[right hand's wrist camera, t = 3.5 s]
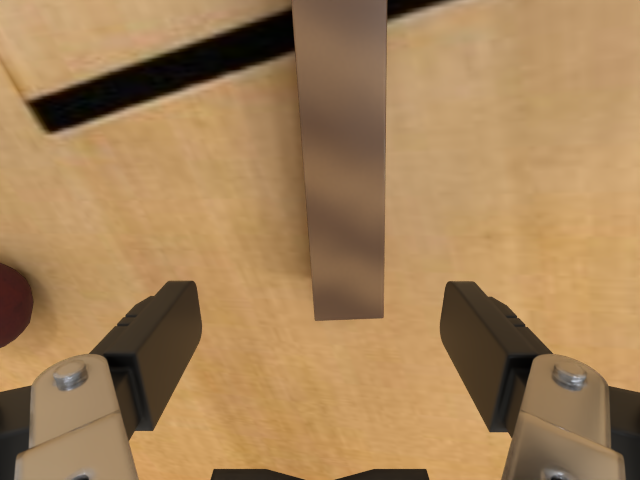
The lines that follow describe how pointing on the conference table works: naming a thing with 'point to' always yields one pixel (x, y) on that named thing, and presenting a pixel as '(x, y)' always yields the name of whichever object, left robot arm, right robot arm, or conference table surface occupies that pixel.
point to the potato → (13, 304)
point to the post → (343, 151)
